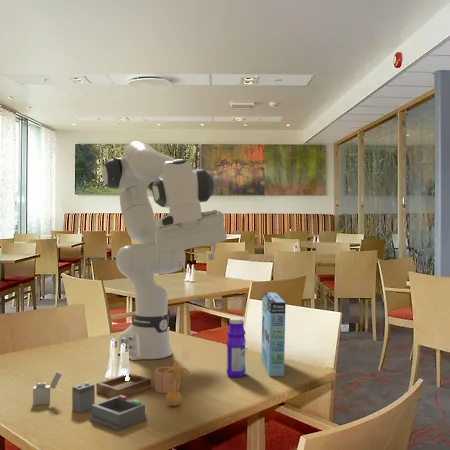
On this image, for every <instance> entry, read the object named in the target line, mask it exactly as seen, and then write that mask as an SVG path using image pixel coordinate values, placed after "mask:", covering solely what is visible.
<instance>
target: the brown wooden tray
mask: <svg viewBox="0 0 450 450" xmlns="http://www.w3.org/2000/svg"><path fill="white" fill-rule="evenodd" d="M129 373H130V374H129V377H130V380H129V381H125V377H126V375H125V374H122V375H118V376H115V377H112V378H108V379H106V380H104V381H99V382H97V383H95V384H96V392H95V393H98V394H100V395H102V396H103V395H104V396H107V397H110V398H113V397H116V396H120V395H123V396H126V397H129V396H132V395H135V394H137V393H138V394H139V393H140V392H143V391H146V390H148V389H151V388H152V379H151V378H149V377H145V376H142V375H138V374H133V373H131V372H129ZM124 375H125V376H124Z"/></svg>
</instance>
